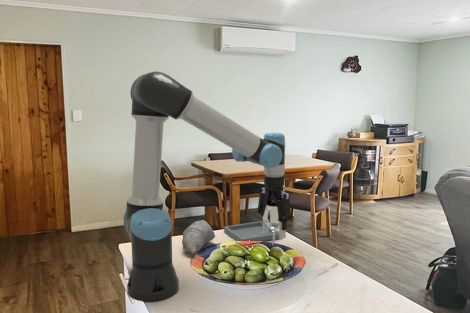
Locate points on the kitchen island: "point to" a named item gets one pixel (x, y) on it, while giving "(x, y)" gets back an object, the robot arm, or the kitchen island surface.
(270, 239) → the tray
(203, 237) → the grey rock
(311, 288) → the kitchen island surface
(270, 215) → the wineglass
